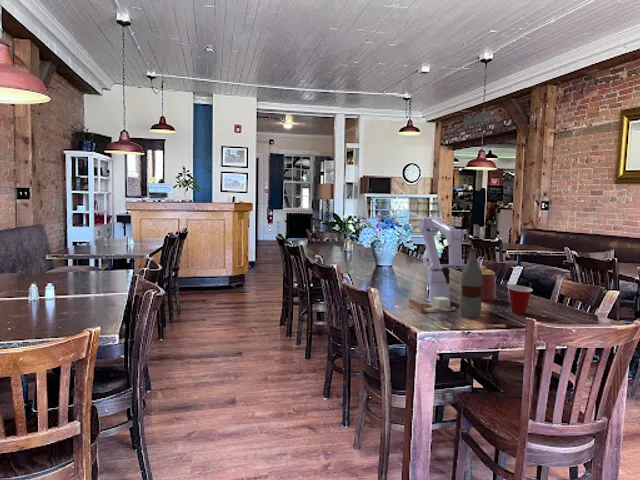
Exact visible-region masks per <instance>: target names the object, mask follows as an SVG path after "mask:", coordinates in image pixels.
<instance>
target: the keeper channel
mask: <svg viewBox="0 0 640 480" xmlns="http://www.w3.org/2000/svg"><path fill="white" fill-rule="evenodd" d="M427 307H428V308H427ZM408 308H409V309H412V310H413V311H416V312H418V313H421V314H423V313H435V312H436V313H437V312H440V313H441V312H452V311H453V312H455V311H456V307H455V306H450V307H443V308H432V302H421V301H420V300H417V299H415V298H408Z"/></svg>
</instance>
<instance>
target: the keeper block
mask: <svg viewBox="0 0 640 480" xmlns="http://www.w3.org/2000/svg"><path fill="white" fill-rule="evenodd" d="M431 303H432V306H431V308H443V307H451V299H450V298H449V299H448V298H445V297H432V302H431Z"/></svg>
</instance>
